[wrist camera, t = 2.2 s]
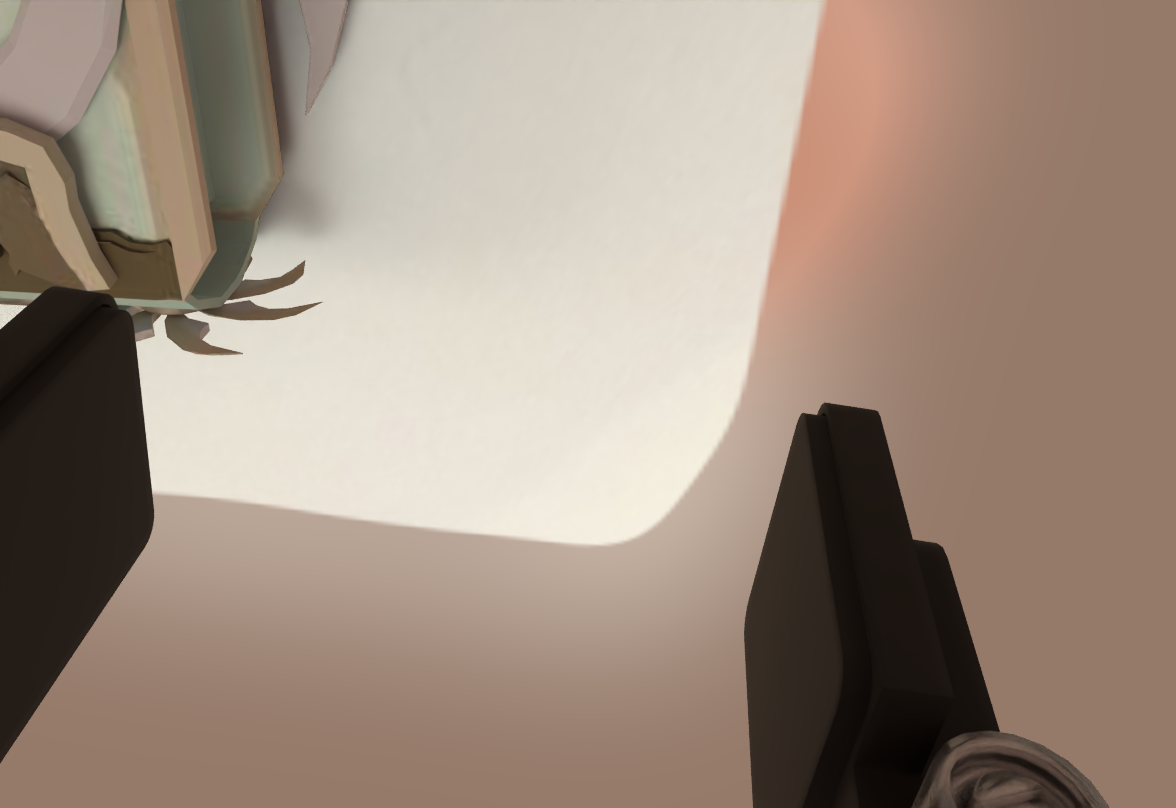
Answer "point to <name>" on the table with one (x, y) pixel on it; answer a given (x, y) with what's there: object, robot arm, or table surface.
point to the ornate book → (144, 153)
